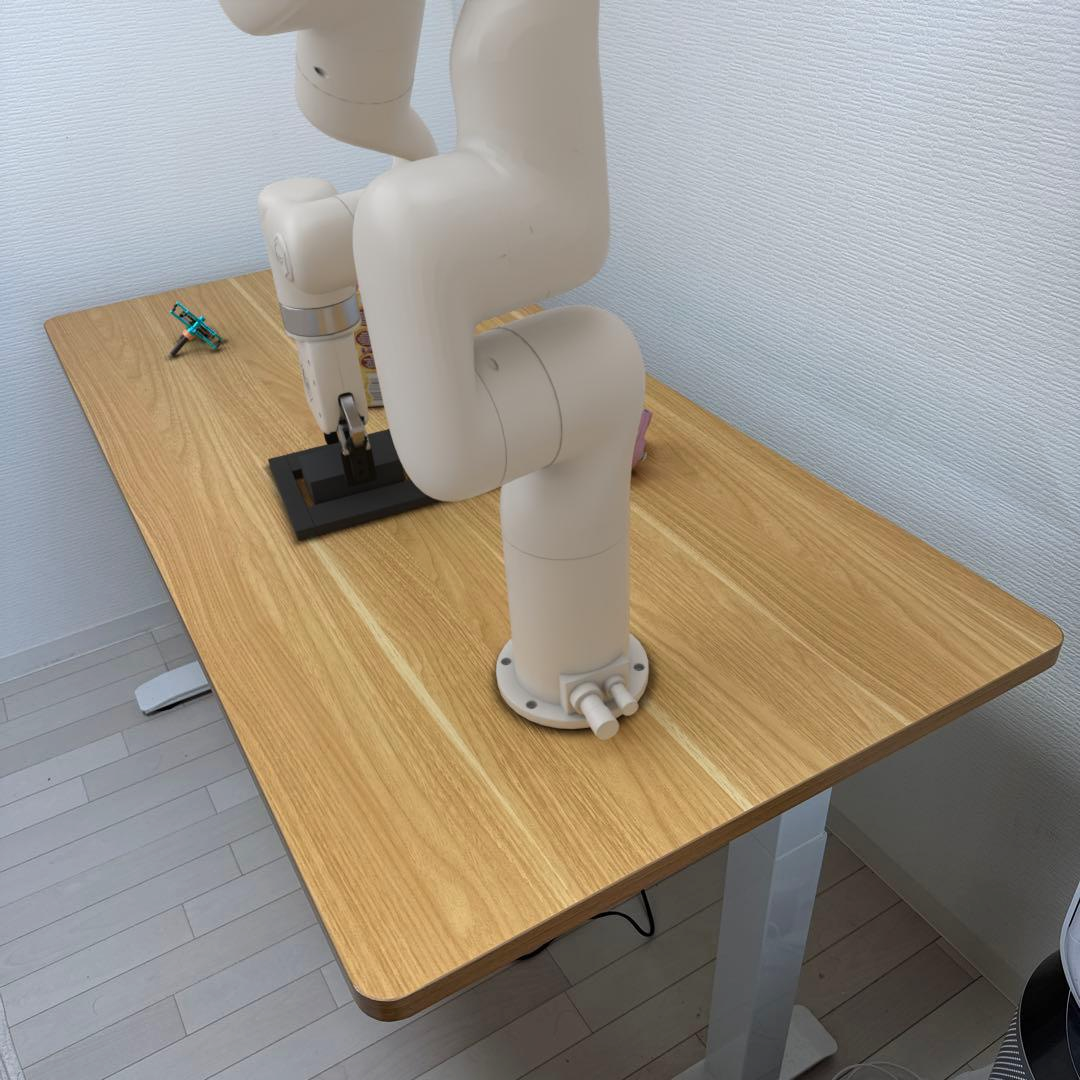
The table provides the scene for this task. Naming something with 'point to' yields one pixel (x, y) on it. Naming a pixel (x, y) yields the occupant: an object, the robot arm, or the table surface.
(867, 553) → the table surface
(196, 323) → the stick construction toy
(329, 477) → the loose black block
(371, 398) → the candy box
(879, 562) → the table surface
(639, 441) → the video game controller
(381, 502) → the black rectangular frame
